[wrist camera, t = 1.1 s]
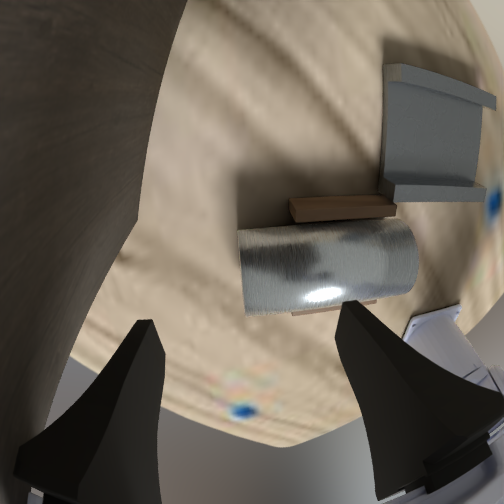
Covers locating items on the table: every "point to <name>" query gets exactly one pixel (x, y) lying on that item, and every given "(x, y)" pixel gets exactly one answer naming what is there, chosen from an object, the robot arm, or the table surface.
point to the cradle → (430, 136)
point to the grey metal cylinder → (325, 264)
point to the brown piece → (339, 217)
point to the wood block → (66, 182)
